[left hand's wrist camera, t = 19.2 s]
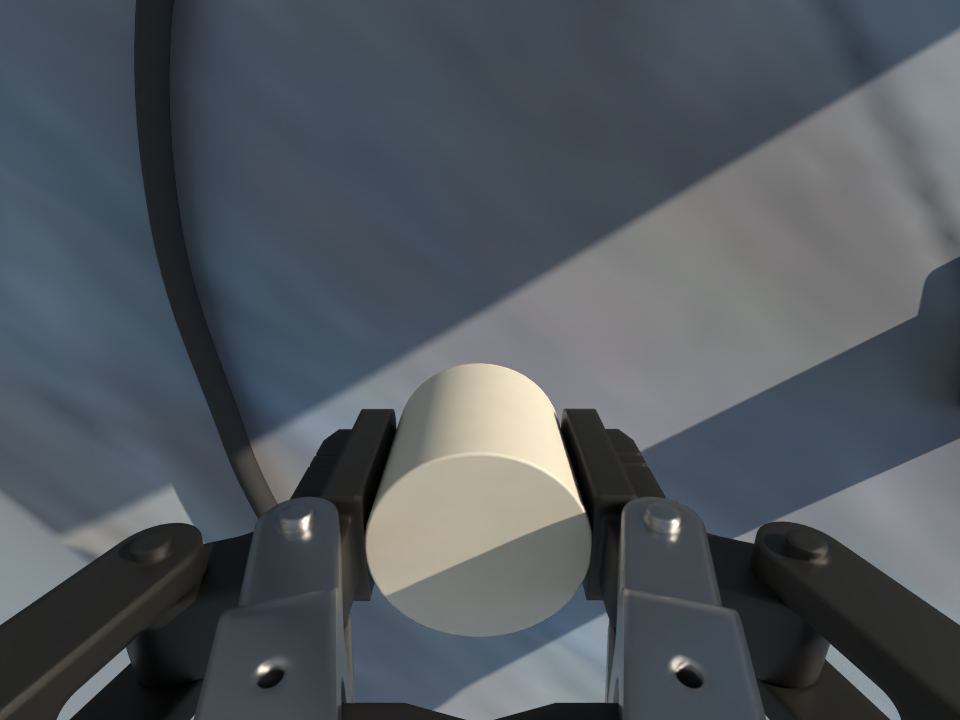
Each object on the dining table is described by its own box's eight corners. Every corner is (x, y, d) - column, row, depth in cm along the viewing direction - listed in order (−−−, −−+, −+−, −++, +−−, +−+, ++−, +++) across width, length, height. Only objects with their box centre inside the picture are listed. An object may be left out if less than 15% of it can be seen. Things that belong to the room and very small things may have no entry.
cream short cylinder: (460, 528, 14) (453, 668, 10) (365, 420, 12) (315, 529, 9) (589, 454, 13) (635, 575, 9) (500, 330, 12) (510, 409, 8)
